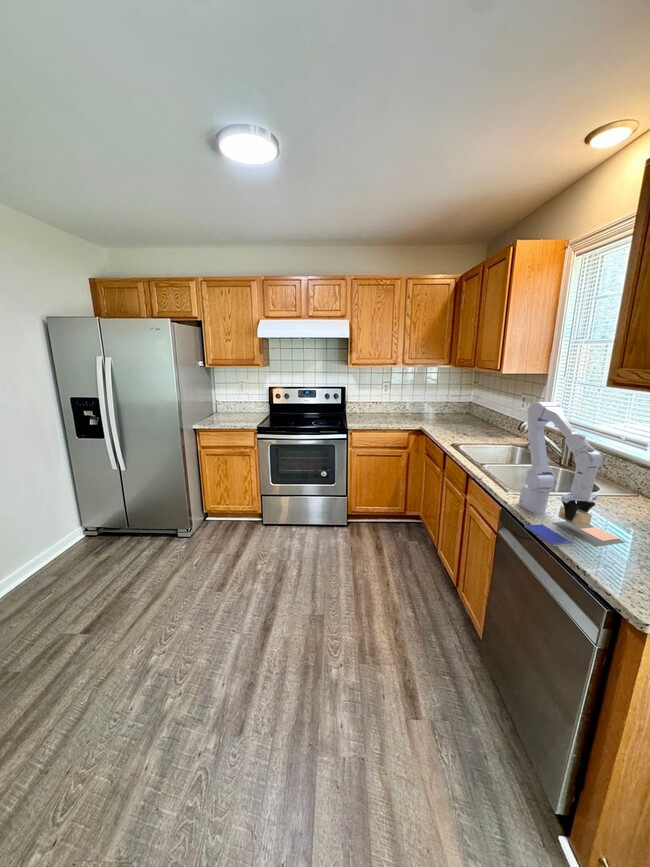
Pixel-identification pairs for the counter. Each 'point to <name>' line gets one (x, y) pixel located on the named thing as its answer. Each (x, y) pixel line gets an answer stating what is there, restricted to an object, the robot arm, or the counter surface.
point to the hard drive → (548, 535)
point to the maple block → (577, 518)
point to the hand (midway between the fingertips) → (573, 518)
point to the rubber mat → (585, 534)
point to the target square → (599, 534)
